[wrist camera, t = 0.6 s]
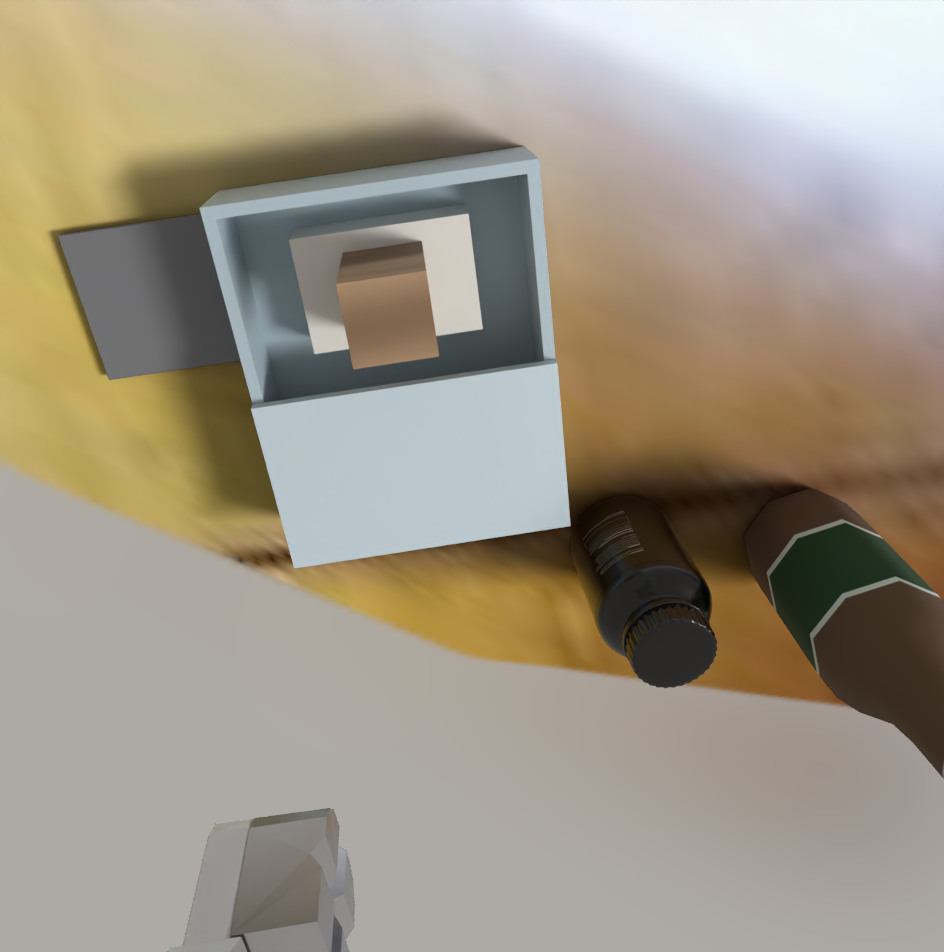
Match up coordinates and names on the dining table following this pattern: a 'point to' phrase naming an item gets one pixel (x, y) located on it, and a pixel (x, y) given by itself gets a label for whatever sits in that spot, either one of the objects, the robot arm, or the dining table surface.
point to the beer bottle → (855, 612)
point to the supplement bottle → (644, 590)
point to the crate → (406, 383)
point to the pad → (151, 296)
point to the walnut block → (386, 305)
